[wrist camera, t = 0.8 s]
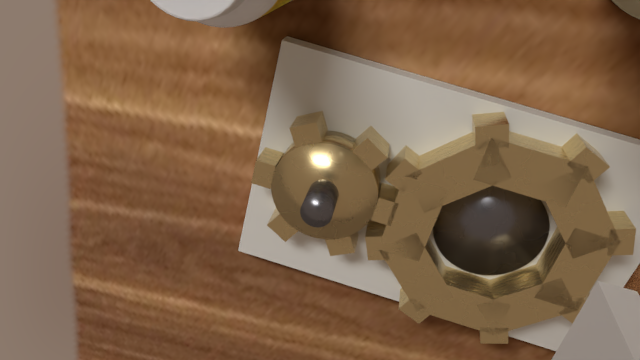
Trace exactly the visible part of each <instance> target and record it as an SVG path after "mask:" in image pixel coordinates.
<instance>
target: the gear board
mask: <svg viewBox="0 0 640 360" xmlns="http://www.w3.org/2000/svg"><path fill="white" fill-rule="evenodd" d="M319 111H323V114H324V118H325V121H326V125H327V128H328V130H329V131H337V132H341V133H344V134H347V135H349V136H351V137H353V138H355V139H356V138H357V137H358V136H359V135H360V134H362V133H363V132H364V131H365V130H366V129H367V128H368V127H370V126H372V127H373V128H374V129H375V130H376V131H377V132H378V133H379V134H380V135H381V136H382V137H383V138H384V139H385V140H386V141H387V142H388V143H389V144H390V145H389V151H388V157H387V158H386V159H385V160H384V161H383V162H382V163H380V164H379V165H378V167H379V171H380V177H381V183H385V184H388V185H391V186H393V185H392V184H390V183H389V182H388V181H386V180H385V176H386V170H387V165H388V164H389V163H390V162H391V160H392V159H393V158H394V157H395V156H396V155H397V154H398V153H399V152H400V151H401V150H402V149H403V148H404V147H405V146H408V147H409V148H410V149H412V150H413V151H414V152H415V153H417V154H418V155H419V156H420V155H422V154H424V153H427V152H429V151H431V150H433V149H436V148H438V147H440V146H442V145H444V144H447V143H449V142H451V141H453V140H456V139H458V138H460V137H462V136H464V135H467V134H469V133H471V132H473V131H472V114H483V113H496V112H504V113H505V115H506V118H507V120H508V123H509V131H511V132H514V133H517V134H521V135H524V136H528V137H531V138H534V139H538V140H541V141H544V142H548V143H551V144H555V145H558V146H561V147H562V146H563V145H564V144H565V143H566V142H567V141H569V140H570V139H571V138H572V137H573V136H574V135H575V134H576V133H577V134H578V135H579V136H581V137H582V138H583V139H584V140H585V141H587V142H588V143H589V144H590V145H591V146H593V147H594V148H595V149H596V150H597V151H598V152H599V153H600V154H601V155H602V157H603V158H604V159H605V161H606V162H607V163H608V164H609V166H610V168H608V169H607V170H606V171H605V172H604V173H602V174H601V175H600V176H599V177H598V178H596V179H595V180H594V182H595V184H596V187H597V189H598V191H599V193H600V196H601V198H602V200H603V203H604V205H605V207H606V210H607V211H624V212H625V213H626V215H627V216H628V217H629V219H630V220H631V222H632V223H633V225H634V226H635V228H636V235H635V243H634V251H633V255H612V257H611V258H610V260H609V261H608V263H607V265H606V266H605V268H604V269H603V271H602V272H601V274H600V276H599V277H598V279H597V280H596V282H595V283H594V285H593V287H592V288H591V290H590V291H589V292H590V293H591V291H592V289H593V288H594V286H595V284H596V283H597V281H600V282H604V283H607V284H611V285H615V286H618V287H622V288H623V287H624V286H625V284H626V283H627V281H628V280H629V278H630V277H631V275H632V274H633V272H634V271H635V269H636V268H637V266H638V265H639V263H640V140H639V139H636V138H633V137H629V136H626V135H622V134H619V133H616V132H612V131H609V130H605V129H602V128H599V127H595V126H592V125H588V124H585V123H582V122H578V121H575V120H571V119H568V118H564V117H561V116H558V115H554V114H551V113H547V112H544V111H541V110H537V109H534V108H530V107H527V106H524V105H520V104H517V103H513V102H510V101H507V100H503V99H500V98H496V97H493V96H490V95H486V94H483V93H479V92H476V91H473V90H469V89H466V88H462V87H459V86H455V85H452V84H449V83H445V82H442V81H438V80H435V79H432V78H428V77H425V76H421V75H418V74H415V73H411V72H408V71H404V70H401V69H398V68H394V67H391V66H387V65H384V64H381V63H377V62H374V61H370V60H367V59H364V58H360V57H357V56H353V55H350V54H346V53H343V52H340V51H336V50H333V49H329V48H326V47H323V46H319V45H316V44H312V43H309V42H306V41H302V40H299V39H295V38H292V37H289V36H286V37H285V38H284V39H283V40H282V42H281V47H280V52H279V57H278V61H277V66H276V71H275V76H274V81H273V86H272V90H271V95H270V100H269V105H268V110H267V114H266V119H265V124H264V129H263V134H262V139H261V143H260V148H259V153H258V157H259V155H260V154H261V153H262V151H263V150H264V148H265V147H267V148H270V149H273V150H276V151H280V152H283V153H285V152H286V150H287V149H288V147H289V146H290V145H291V144H292V143H293V142H294V141H293V138H292V135H291V132H290V129H289V128H290V126H291V125H292V123H293V122H294V120H295V119H296V117H297V116H301V115H306V114H310V113H315V112H319ZM283 155H284V154H283ZM381 183H380V185H381ZM541 201H542V200H541ZM542 203H543V205H544V206H545V208H546V211H547V214H548V217H549V227H550V228H549V235H548V238H547V241H546V243H545V245H544V247H543V249H542V250H541V252H540V253H539V254H538V255H537V256H536V257H535V258H534V259H533V260H532V261H531V262H529V263H528V264H527V265H525V266H523V267H521V268H519V269H517V270H515V271H518V270H521V269H523V268H526V267H529V266H532V265H535V264H537V262H538V260H539V258H540V256H541V255H542V253H543V251H544V249H545V247H546V246H547V244H548V242H549V240H550V239H551V237H552V235H553V233H554V231H555V230H556V228H557V224H556V222H555V220H554V218H553V216H552V214H551V212H550V210H549V208H548V206H547V203H546V202H545V201H542ZM275 209H276V206H275V204H274V201H273V198H272V192H271V189H268V188H265V187H262V186H259V185H256V184H252V187H251V192H250V196H249V201H248V206H247V211H246V216H245V220H244V225H243V230H242V235H241V240H240V245H239V249H238V251H241V252H244V253H247V254H250V255H253V256H257V257H260V258H263V259H266V260H269V261H272V262H276V263H279V264H282V265H285V266H288V267H291V268H294V269H298V270H301V271H304V272H307V273H310V274H313V275H317V276H320V277H323V278H326V279H329V280H332V281H336V282H339V283H342V284H345V285H348V286H351V287H355V288H358V289H361V290H364V291H367V292H370V293H373V294H377V295H380V296H383V297H386V298H389V299H392V300H396V301H399V297H400V289H401V288H402V287H401V285H400V284H399V282H398V280H397V279H396V277H395V276H394V274H393V272H392V271H391V269H390V267H389V266H388V264H387V263H386V261H385V260H368V256H367V248H366V240H365V235H366V229H367V224H368V223H367V224H366V225H365V226H364V227H363V228H362V229H361V230H359V231H358V235H359V236H358V241H357V245H356V250H355V253H349V254H342V255H335V256H330V254H329V251H328V247H327V244H326V241H325V239H319V238H314V237H311V236H308V235H305V234H303V233H301V232H299V231H298V232H297V233H296V234H294V235H293V236H292V237H291V238H289V239H288V240H287V241H286V242H285V241H284V240H282V239H281V238H280V237H279V236H278V235H277V234H276V233H275V232H274V231H273V230H272V229H270V228H269V227H268V226H267V224H268V222H269V220H270V218H271V216H272V214H273V212H274V210H275ZM370 220H371V219H370ZM429 238H430V240H431V241H432V243H433V245H434V247H435V248H436V250H437V252H438V254H439V255H440V257H441V259H442V261H443V262H444V264H445V266H448V267H451V268H454V269H457V270H461V271H464V272H467V271H465V270H462V269H460V268H458V267H456V266H455V265H453V264H452V263H450V262H449V261H448V260H447V259H446V258H445V257H444V256H443V255H442V253H441V252H440V251H439V249H438V247H437V245H436V243H435V239H434V235H433V229H432V231H431V234H430V236H429ZM515 271H512V272H515ZM512 272H509V273H512ZM467 273H470V272H467ZM509 273H505V274H499V275H480V274H474V273H470V274H473V275H477V276H480V277H483V278H486V279H489V280H491V279H494V278H497V277H500V276H503V275H506V274H509ZM571 325H572V323H571V322H570V321H568V320H567V319H566V318H564V317H563V316H562V315H561V316H557V317H554V318H551V319H547V320H544V321H540V322H537V323H534V324H530V325H527V326H523V327H520V328H517V329H513V330H510V331H508V336H509V337H513V338H516V339H519V340H522V341H525V342H528V343H531V344H535V345H538V346H541V347H544V348H547V349H550V350H554V351H557V349H558V348H559V346H560V344H561V343H562V341H563V339H564V337H565V336H566V334H567V332H568V331H569V329H570V327H571Z"/></svg>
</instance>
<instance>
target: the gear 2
mask: <svg viewBox="0 0 640 360" xmlns="http://www.w3.org/2000/svg"><path fill="white" fill-rule="evenodd" d="M472 131H473V132H471V133H469V134H467V135H464V136H462V137H460V138H458V139H456V140H453V141H451V142H449V143H447V144H444V145H442V146H440V147H438V148H436V149H433V150H431V151H429V152H427V153H424V154H422V155H420V156H419V155H418V154H417V153H415V152H414V151H413V150H412V149H410V148H409V147H408V146H405V147H404V148H403V149H402V150H401V151H400V152H399V153H398V154H397V155H396V156H395V157H394V158H393V159H392V160H391V162H390V163H389V164H388V165H387V170H386V176H385V180H386V181H388V182H389V183H390V184H392V185H393V186H394V187H396V195H395V204H394V205H397V204H398V207H397V208H396V207H395V208H396V212H395V215H394V214H393V215H394V218H393V221H392V223H391V226H388V225H385V224H382V223H378V222H375V221H372V220H370V221H369V222H368V224H367V229H366V235H365V240H366V248H367V256H368V260H385V261H386V263H387V264H388V266H389V267H390V269H391V271H392V272H393V274H394V276H395V277H396V279H397V280H398V282H399V284H400V285H401V287H402V288H401V289H400V297H399V310H401V311H402V312H403V313H405V314H406V315H408V316H409V317H410V318H412V319H413V320H414V321H416V322H417V323H421V322H422V321H423V320H424V319H425V318H427V317H428V316H429V315H432V316H435V317H438V318H441V319H445V320H448V321H451V322H454V323H457V324H460V325H464V326H467V327H470V328H473V329H476V330H479V337H480V343H492V344H508V331H510V330H513V329H517V328H520V327H523V326H527V325H530V324H534V323H537V322H540V321H544V320H547V319H551V318H554V317H557V316H561V315H562V316H563V317H564V318H566V319H567V320H568V321H570V322H571V323H572V324H573V322H574V320H575V319H576V317H577V315H578V313H579V312H580V310H581V308H582V307H583V305H584V303H585V301H586V300H587V298H588V296H589V295H590V292H589V291H590V290H591V288H592V287H593V285H594V283H595V282H596V280H597V279H598V277H599V276H600V274H601V272H602V271H603V269H604V268H605V266H606V265H607V263H608V261H609V260H610V258H611V257H612V255H633V251H634V243H635V235H636V228H635V226H634V225H633V223H632V222H631V220H630V219H629V217H628V216H627V215H626V213H625V212H624V211H607V210H606V207H605V205H604V203H603V200H602V198H601V196H600V193H599V191H598V189H597V187H596V184H595V182H594V180H595V179H596V178H598V177H599V176H600V175H601V174H602V173H604V172H605V171H606V170H607V169H608V168H610V166H609V164H608V163H607V162H606V161H605V159H604V158H603V157H602V155H601V154H600V153H599V152H598V151H597V150H596V149H595V148H594V147H593V146H591V145H590V144H589V143H588V142H587V141H585V140H584V139H583V138H582V137H581V136H579V135H578V134H577V133H576V134H575V135H574V136H573V137H572V138H571V139H570V140H569V141H567V142H566V143H565V144H564V145H563V146H562V147H561V146H558V145H555V144H551V143H548V142H544V141H541V140H538V139H534V138H531V137H528V136H524V135H521V134H517V133H514V132H511V131H509V123H508V120H507V118H506V115H505V113H504V112H496V113H483V114H472ZM541 200H542V201H545V202H546V203H547V206H548V208H549V210H550V212H551V214H552V216H553V218H554V220H555V222H556V224H557V228H556V230H555V231H554V233H553V235H552V237H551V239H550V240H549V242H548V244H547V246H546V247H545V249H544V251H543V253H542V255H541V256H540V258H539V260H538V262H537V264H535V265H532V266H529V267H526V268H523V269H521V270H518V271H515V270H517V269H519V268H521V267H523V266H525V265H527V264H528V263H529V262H531V261H532V260H533V259H534V258H535V257H536V256H537V255H538V254H539V253H540V252H541V250H542V249H543V247H544V245H545V243H546V241H547V238H548V235H549V228H550V227H549V217H548V214H547V211H546V208H545V206H544V205H543V203H542V201H541ZM396 203H397V204H396ZM393 207H394V206H393ZM393 209H394V208H393ZM393 212H394V210H393ZM393 215H392V216H393ZM391 220H392V219H391ZM390 222H391V221H390ZM387 224H388V223H387ZM389 224H390V223H389ZM432 229H433V235H434V239H435V243H436V245H437V247H438V249H439V251H440V252H441V253H442V255H443V256H444V257H445V258H446V259H447V260H448V261H449V262H450V263H452V264H453V265H455V266H456V267H458V268H460V269H462V270H465V271H467V272H470V273H474V274H480V275H499V274H505V273H509V272H512V271H515V272H512V273H509V274H506V275H503V276H500V277H497V278H494V279H491V280H489V279H486V278H483V277H480V276H477V275H473V274H470V273H467V272H464V271H461V270H457V269H454V268H451V267H448V266H445V264H444V262H443V261H442V259H441V257H440V255H439V254H438V252H437V250H436V248H435V247H434V245H433V243H432V241H431V240H430V238H429V236H430V234H431V231H432Z"/></svg>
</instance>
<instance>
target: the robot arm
mask: <svg viewBox="0 0 640 360" xmlns="http://www.w3.org/2000/svg"><path fill="white" fill-rule="evenodd" d="M552 360H640V296H639V294H638V292H637V291H633V290H630V289H626V288H622V287H618V286H615V285H611V284H607V283H604V282H600V281H597V283H596V284H595V286H594V288H593V289H592V291H591V293H590V295H589V296H588V298H587V300H586V301H585V303H584V305H583V307H582V308H581V310H580V312H579V313H578V315H577V317H576V319H575V320H574V322H573V324H572V325H571V327H570V329H569V331H568V332H567V334H566V336H565V337H564V339H563V341H562V343H561V344H560V346H559V348H558V349H557V351H556V353H555V355H554V356H553V358H552Z"/></svg>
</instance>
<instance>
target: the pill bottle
mask: <svg viewBox="0 0 640 360" xmlns="http://www.w3.org/2000/svg"><path fill="white" fill-rule="evenodd" d="M151 1H152V2H153V3H154V4H155V5H156V6H157V7H158V8H160V9H161V10H163V11H164V12H166V13H168V14H169V15H172V16H174V17H176V18H179V19H183V20H187V21H197V22H199V23H202V24H205V25H209V26H214V27H235V26H240V25H244V24H247V23H250V22H252V21H254V20H256V19H258V18H260V17H262V16H264V15H266V14H268V13H270V12H272V11H273V10H275V9H277V8H279V7H281V6H283V5H285V4H287V3H288V2H290V1H292V0H151Z"/></svg>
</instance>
